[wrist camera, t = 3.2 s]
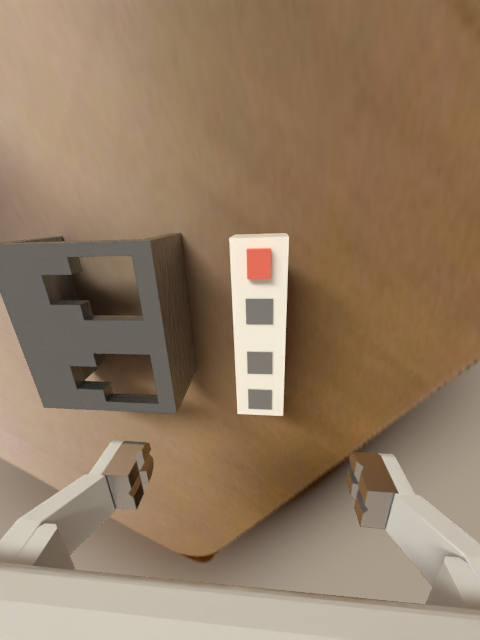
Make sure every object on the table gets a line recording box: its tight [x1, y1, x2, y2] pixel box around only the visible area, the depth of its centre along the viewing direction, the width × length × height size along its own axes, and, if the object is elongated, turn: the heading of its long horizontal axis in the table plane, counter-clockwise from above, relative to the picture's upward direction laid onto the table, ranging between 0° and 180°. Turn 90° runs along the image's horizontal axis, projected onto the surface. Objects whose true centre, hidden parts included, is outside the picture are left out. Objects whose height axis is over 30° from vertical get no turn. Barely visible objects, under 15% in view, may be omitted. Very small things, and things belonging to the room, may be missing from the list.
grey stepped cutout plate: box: [0, 233, 196, 414], centre depth 25 cm, size 13×15×7 cm
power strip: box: [229, 233, 289, 416], centre depth 24 cm, size 4×15×7 cm, turn 2°
